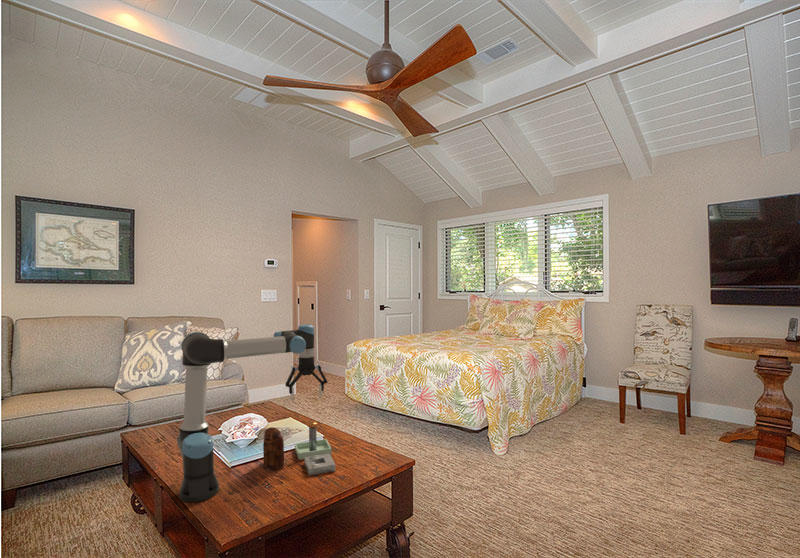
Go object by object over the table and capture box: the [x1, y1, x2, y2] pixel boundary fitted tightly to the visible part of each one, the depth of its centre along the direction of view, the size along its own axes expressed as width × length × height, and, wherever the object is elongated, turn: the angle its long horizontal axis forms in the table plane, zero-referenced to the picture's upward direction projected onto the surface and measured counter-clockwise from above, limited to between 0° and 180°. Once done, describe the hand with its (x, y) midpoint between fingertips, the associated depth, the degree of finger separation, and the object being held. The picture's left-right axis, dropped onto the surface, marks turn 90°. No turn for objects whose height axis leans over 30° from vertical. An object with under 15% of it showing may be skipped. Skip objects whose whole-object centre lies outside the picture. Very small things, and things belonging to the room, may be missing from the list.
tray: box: [294, 438, 333, 461], centre depth 233 cm, size 16×12×3 cm
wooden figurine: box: [262, 426, 285, 471], centre depth 217 cm, size 12×6×18 cm, turn 65°
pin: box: [307, 420, 319, 451], centre depth 232 cm, size 5×5×14 cm
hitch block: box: [303, 453, 336, 476], centre depth 217 cm, size 12×12×3 cm
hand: (306, 398), depth 231 cm, fingers open, 13 cm apart
